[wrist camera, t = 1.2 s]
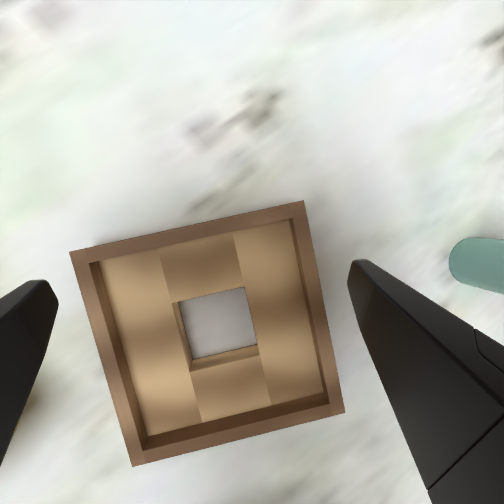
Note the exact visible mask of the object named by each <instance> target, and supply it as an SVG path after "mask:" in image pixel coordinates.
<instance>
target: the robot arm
mask: <svg viewBox="0 0 504 504" xmlns="http://www.w3.org/2000/svg"><path fill="white" fill-rule="evenodd" d="M347 285H348V290H349V293H350V297H351V300H352V304H353V307H354V311H355V314H356V318H357V321H358V325H359V328H360V331H361V333H362V336H363V339H364V341H365V343H366V346H367V348H368V351H369V353H370V355H371V358H372V360H373V363H374V365H375V367H376V370H377V372H378V374H379V377H380V379H381V382H382V384H383V386H384V389H385V391H386V394H387V396H388V398H389V401H390V403H391V406H392V408H393V410H394V413H395V415H396V418H397V420H398V422H399V425H400V427H401V430H402V432H403V434H404V437H405V439H406V442H407V444H408V446H409V449H410V451H411V454H412V456H413V458H414V461H415V463H416V466H417V468H418V470H419V473H420V475H421V478H422V480H423V482H424V485H425V487H426V489H427V490H428V495H429V497H430V500H431V502H432V504H504V346H503V345H501V344H500V343H498V342H496V341H495V340H493V339H491V338H490V337H488V336H487V335H485V334H484V333H482V332H480V331H479V330H477V329H474V328H473V327H472V326H471V325H469V324H468V323H466V322H465V321H463V320H461V319H460V318H458V317H457V316H455V315H454V314H452V313H450V312H449V311H447V310H446V309H444V308H443V307H441V306H439V305H438V304H436V303H435V302H433V301H432V300H430V299H428V298H427V297H425V296H424V295H422V294H421V293H419V292H417V291H416V290H414V289H413V288H411V287H410V286H408V285H406V284H405V283H403V282H402V281H400V280H399V279H397V278H395V277H394V276H392V275H391V274H389V273H388V272H386V271H384V270H383V269H381V268H380V267H378V266H377V265H375V264H373V263H372V262H370V261H369V260H366V259H360V260H354V261H353V262H352V264H351V267H350V271H349V276H348V280H347ZM58 305H59V304H58V299H57V297H56V295H55V293H54V292H53V290H52V288H51V286H50V284H49V283H48V282H47V281H46V280H43V279H42V280H30V281H28V282H26V283H24V284H23V285H21V286H19V287H18V288H16V289H15V290H13V291H12V292H10V293H8V294H7V295H5V296H4V297H2V298H0V466H1V464H2V461H3V459H4V456H5V454H6V451H7V449H8V446H9V444H10V441H11V439H12V436H13V434H14V431H15V429H16V426H17V424H18V421H19V419H20V416H21V414H22V411H23V409H24V406H25V404H26V401H27V399H28V396H29V394H30V392H31V389H32V387H33V384H34V382H35V379H36V377H37V374H38V372H39V369H40V367H41V364H42V361H43V359H44V356H45V353H46V350H47V347H48V343H49V339H50V336H51V332H52V329H53V325H54V321H55V318H56V314H57V310H58Z"/></svg>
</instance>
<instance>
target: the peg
mask: <svg viewBox="0 0 504 504" xmlns="http://www.w3.org/2000/svg"><path fill="white" fill-rule="evenodd" d="M449 268H450V271H451V273H452V275H453V277H454V278H455V279H456V280H458V281H459V282H461V283H464V284H468V285H471V286H475V287H479V288H482V289H486V290H490V291H493V292H497V293H500V294H504V240H501V239H487V238H467V239H464V240H462V241H460V242H459V243H458V244H457V245H456V246H455V247H454V248H453V250H452V252H451V254H450V258H449Z"/></svg>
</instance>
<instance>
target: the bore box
mask: <svg viewBox="0 0 504 504" xmlns="http://www.w3.org/2000/svg"><path fill="white" fill-rule="evenodd" d="M69 253H70V257H71V260H72V264H73V267H74V270H75V274H76V277H77V281H78V284H79V287H80V291H81V294H82V298H83V301H84V304H85V308H86V311H87V315H88V318H89V321H90V325H91V328H92V332H93V335H94V338H95V342H96V345H97V349H98V352H99V355H100V359H101V362H102V366H103V369H104V372H105V376H106V379H107V383H108V386H109V389H110V393H111V396H112V400H113V403H114V406H115V410H116V413H117V417H118V420H119V423H120V427H121V430H122V434H123V437H124V440H125V444H126V447H127V451H128V454H129V457H130V461H131V464H132V467H134V466H138V465H142V464H146V463H150V462H154V461H158V460H162V459H166V458H170V457H174V456H178V455H181V454H185V453H189V452H193V451H197V450H201V449H205V448H209V447H213V446H217V445H221V444H225V443H228V442H232V441H236V440H240V439H244V438H248V437H252V436H256V435H260V434H264V433H268V432H272V431H275V430H279V429H283V428H287V427H291V426H295V425H299V424H303V423H307V422H311V421H315V420H319V419H323V418H326V417H330V416H334V415H338V414H342V413H345V409H344V404H343V398H342V393H341V388H340V383H339V378H338V373H337V368H336V363H335V358H334V352H333V347H332V342H331V337H330V332H329V327H328V322H327V317H326V311H325V306H324V301H323V296H322V291H321V286H320V281H319V276H318V270H317V265H316V260H315V255H314V250H313V245H312V240H311V235H310V229H309V224H308V219H307V214H306V209H305V204H304V200H303V201H298V202H294V203H289V204H285V205H280V206H276V207H271V208H267V209H262V210H258V211H253V212H248V213H244V214H239V215H235V216H230V217H226V218H221V219H217V220H212V221H208V222H203V223H198V224H194V225H189V226H185V227H180V228H176V229H171V230H167V231H162V232H158V233H153V234H148V235H144V236H139V237H135V238H130V239H126V240H121V241H117V242H112V243H108V244H103V245H98V246H94V247H89V248H85V249H80V250H76V251H71V252H69ZM240 287H245V291H246V295H247V300H248V304H249V309H250V313H251V318H252V322H253V326H254V331H255V335H256V340H257V345H253V346H249V347H245V348H241V349H237V350H233V351H228V352H224V353H220V354H216V355H212V356H208V357H203V358H199V359H195V360H192V356H191V352H190V348H189V345H188V341H187V337H186V333H185V329H184V325H183V321H182V317H181V313H180V309H179V305H178V302H179V301H183V300H188V299H192V298H196V297H201V296H205V295H209V294H214V293H218V292H222V291H227V290H231V289H235V288H240Z"/></svg>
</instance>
